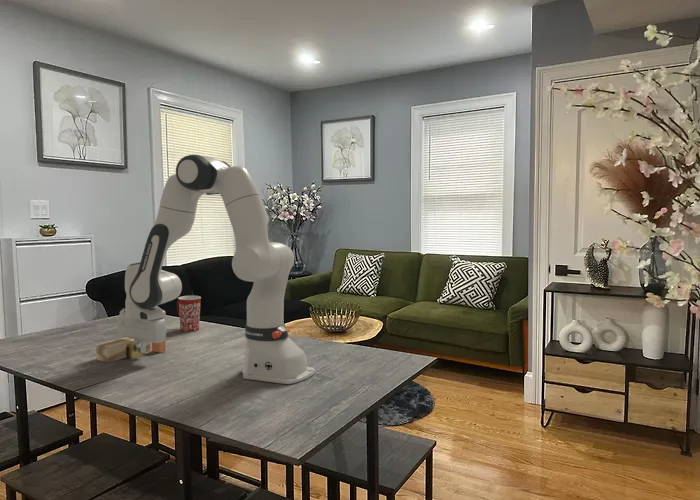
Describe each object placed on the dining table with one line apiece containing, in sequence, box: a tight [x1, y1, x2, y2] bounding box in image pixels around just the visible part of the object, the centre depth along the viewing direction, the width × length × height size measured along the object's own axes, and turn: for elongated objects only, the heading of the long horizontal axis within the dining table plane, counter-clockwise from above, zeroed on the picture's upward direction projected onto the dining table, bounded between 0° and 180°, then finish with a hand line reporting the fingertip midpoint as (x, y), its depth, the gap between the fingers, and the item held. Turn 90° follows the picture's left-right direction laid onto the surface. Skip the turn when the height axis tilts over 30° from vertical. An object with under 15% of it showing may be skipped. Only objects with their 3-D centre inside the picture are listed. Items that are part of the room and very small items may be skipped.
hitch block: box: [95, 337, 151, 363], centre depth 165 cm, size 6×16×5 cm, turn 150°
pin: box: [126, 343, 146, 360], centre depth 166 cm, size 15×5×5 cm, turn 60°
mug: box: [176, 295, 202, 333], centre depth 202 cm, size 13×9×14 cm
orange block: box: [151, 339, 167, 354], centre depth 169 cm, size 4×2×4 cm, turn 60°
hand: (141, 352), depth 162 cm, fingers closed
